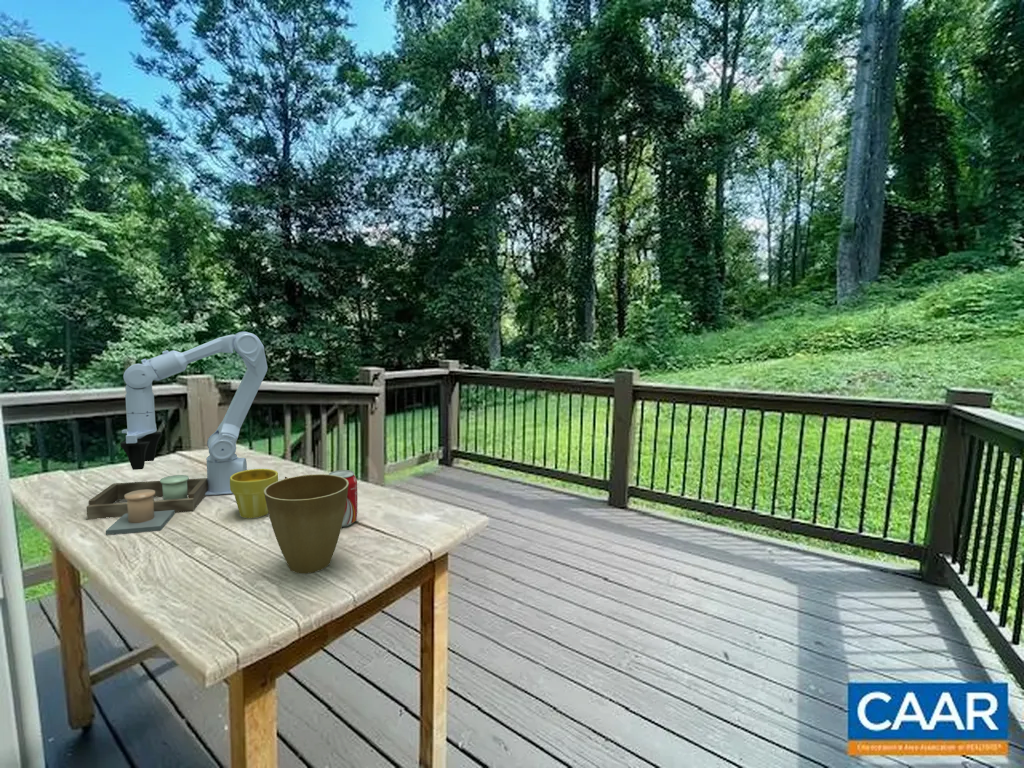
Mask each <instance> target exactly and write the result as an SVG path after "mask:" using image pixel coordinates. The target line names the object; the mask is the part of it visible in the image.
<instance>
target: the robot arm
mask: <svg viewBox="0 0 1024 768" xmlns="http://www.w3.org/2000/svg"><path fill="white" fill-rule="evenodd" d="M234 351H235V352H236V353H237V354H238V356H240V358H241V359H242V361H243V363H244V366H245V367H246V370H245V372H244V375H243V377H242V379H241V381H240V383H239V385H238V387H237V388H236V391H235V394H234V396H233V397H232V399H231V402H230V404H229V406H228V409H227V411H226V412H225V415H224V416H223V419H222V421H221V422H220V423H219V425H218V427H217V428H216V430H215V432H213V433H212V434H211V435H210V436H209V437H208V439H207V443H206V444H207V447H208V454H209V455H208V456H207V457H206V478H207V482H208V491H207V492H206V493H205V495H206V496H216V495H217V496H218V495H232V494H233V495H234V493H232V492H231V490H230V477H231V476H232V475H233V474H235V473H238V472H241V471H245V470H248V467H247V466H248V463H247V458H246V457H238V456H237V453H236V451H237V445H236V443H237V441H238V438H239V435H240V432H241V431H240V430H241V428H242V425H243V423H244V421H245V419H246V417H247V415H248V413H249V410H250V408H251V406H252V404H253V402H254V399H255V398H256V396H257V393H258V391H259V389H260V387H261V384H262V383H263V380H264V379H265V376H266V374H267V372H268V363H267V358H266V354H265V353H266V352H265V346H264V345H263V342H261V340H260V338H259V337H258V336H257V335H256V334H254V333H251V332H248V331H239V332H237V333H235V334H234V333H232V334H228V335H224V336H220V337H216V338H215V339H212V340H210V341H207V342H205V343H204V342H203V344H200V345H198V346H195V347H193V348H190V349H188V350H185V351H183V352H180V351H178V350H174V349H173V350H170V351H169V350H168V349H166V350H163V351H162V354H159V355H157V356H154V357H151V358H149V359H147V358H143V359H141V360H140V361H141V363H134V364H131V365H130V366H128V367H127V368H126V370H124V373H123V380H124V383H125V384H126V385H125V395H124V396H125V411H126V412H125V413H126V426H127V428H125V429H122V430H121V434H126V435H125V440H123V441H122V442H119V443H120V447H121V449H122V450H123V451H124V452H125V454H126V456H127V458H128V461H129V464H130V466H131V469H132V470H133V471H134V470H143V469H144V467H145V463H146V462H154V461H155V459H156V454H157V453H156V452H157V449H158V445H159V441H160V440H161V438H162V436H163V432H162V431H161V432H160V431H157V430H158V429H157V423H156V412H155V411H156V410H155V407H156V406H155V393H154V392H153V381H157V382H158V381H159V382H160V381H162V380H165V379H167V378H169V377H172V376H174V375H177V374H179V373H183V372H185V370H187V367H188V365H189V364H191V363H193V362H197V361H199V360H202V359H205V358H208V357H210V356H212V355H216V354H219V353H226V354H228V353H229V354H234Z"/></svg>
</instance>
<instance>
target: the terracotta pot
mask: <svg viewBox="0 0 1024 768" xmlns="http://www.w3.org/2000/svg"><path fill="white" fill-rule="evenodd" d="M154 495H155V490H150V489H145V490H137V491H132V492H129V493H127V494H125V495H124V497H125V499H124V500H126V503H127V509H128V522H130V523H141V522H146V521H149V520H152V519H153V518H154V501H155V500H154V497H153V496H154Z"/></svg>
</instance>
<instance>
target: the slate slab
mask: <svg viewBox="0 0 1024 768" xmlns="http://www.w3.org/2000/svg"><path fill="white" fill-rule="evenodd" d="M174 515H176V513H175V510H167V511H154V518H153V519H152V520H149V521H146V522H141V523H130V522H128V513H127V514H124V515H123V516H122V517H118V519H117V520H116V521H115V522H113V523H112V524H111V525H110V526H109V527H108V528H107V529H106V530H105V535H106V536H108V535H107V534H113V535H122V534H135V533H146V532H156V531H157V532H158V531H159V532H160V531H161V530H162V529H163V528H164V527H165V526H166V525H167V523H169V522H170V520H171V519H172V518H173V516H174ZM174 517H175V516H174Z"/></svg>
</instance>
